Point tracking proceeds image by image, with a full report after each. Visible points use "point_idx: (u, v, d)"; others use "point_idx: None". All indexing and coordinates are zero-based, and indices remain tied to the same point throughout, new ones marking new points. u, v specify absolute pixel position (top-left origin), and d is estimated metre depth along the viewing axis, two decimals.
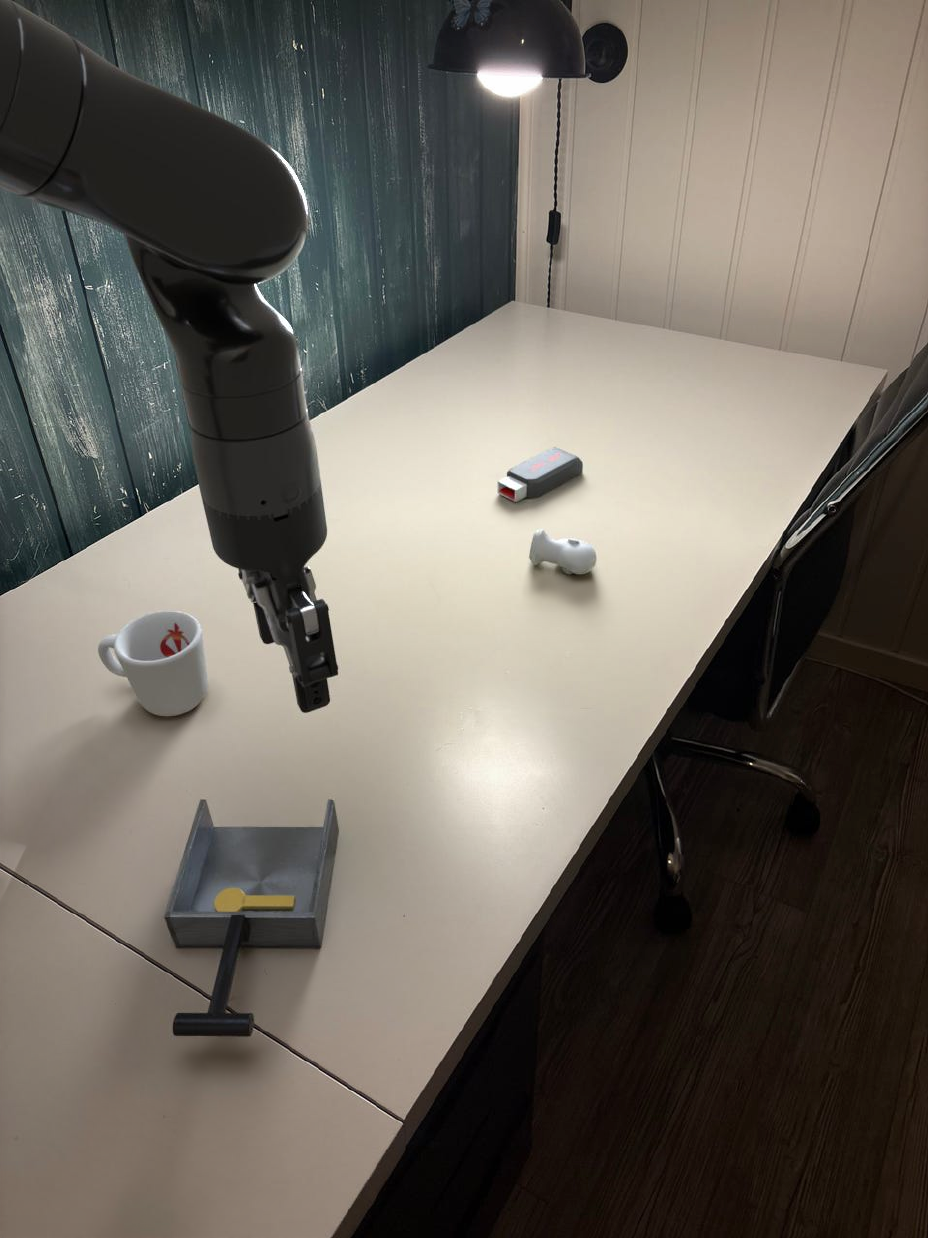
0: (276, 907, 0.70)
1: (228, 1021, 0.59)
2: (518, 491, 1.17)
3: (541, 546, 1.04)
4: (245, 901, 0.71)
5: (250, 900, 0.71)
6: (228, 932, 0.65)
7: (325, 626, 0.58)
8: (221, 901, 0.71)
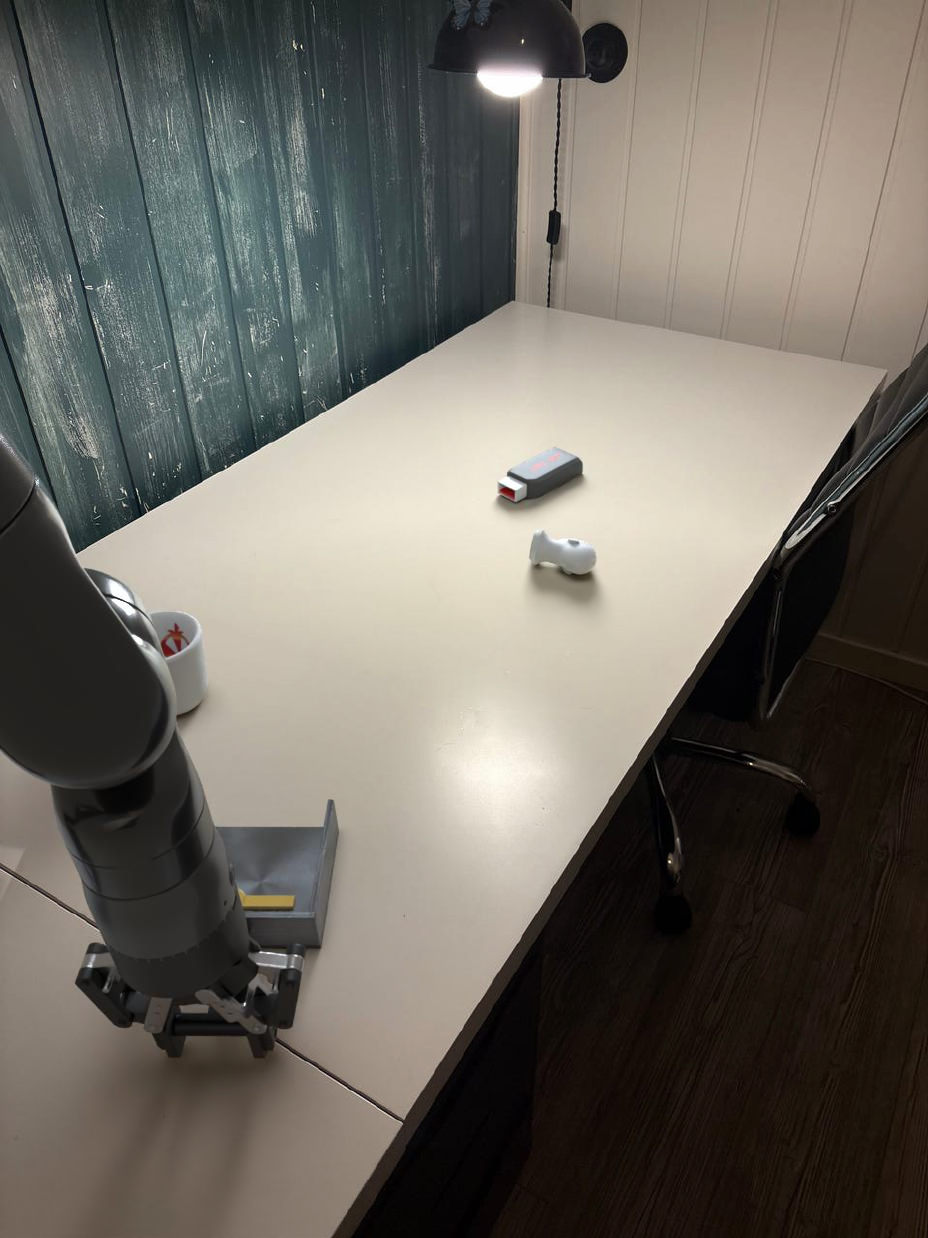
0: (276, 907, 0.70)
1: None
2: (518, 491, 1.17)
3: (541, 546, 1.04)
4: (245, 901, 0.71)
5: (250, 900, 0.71)
6: None
7: None
8: None
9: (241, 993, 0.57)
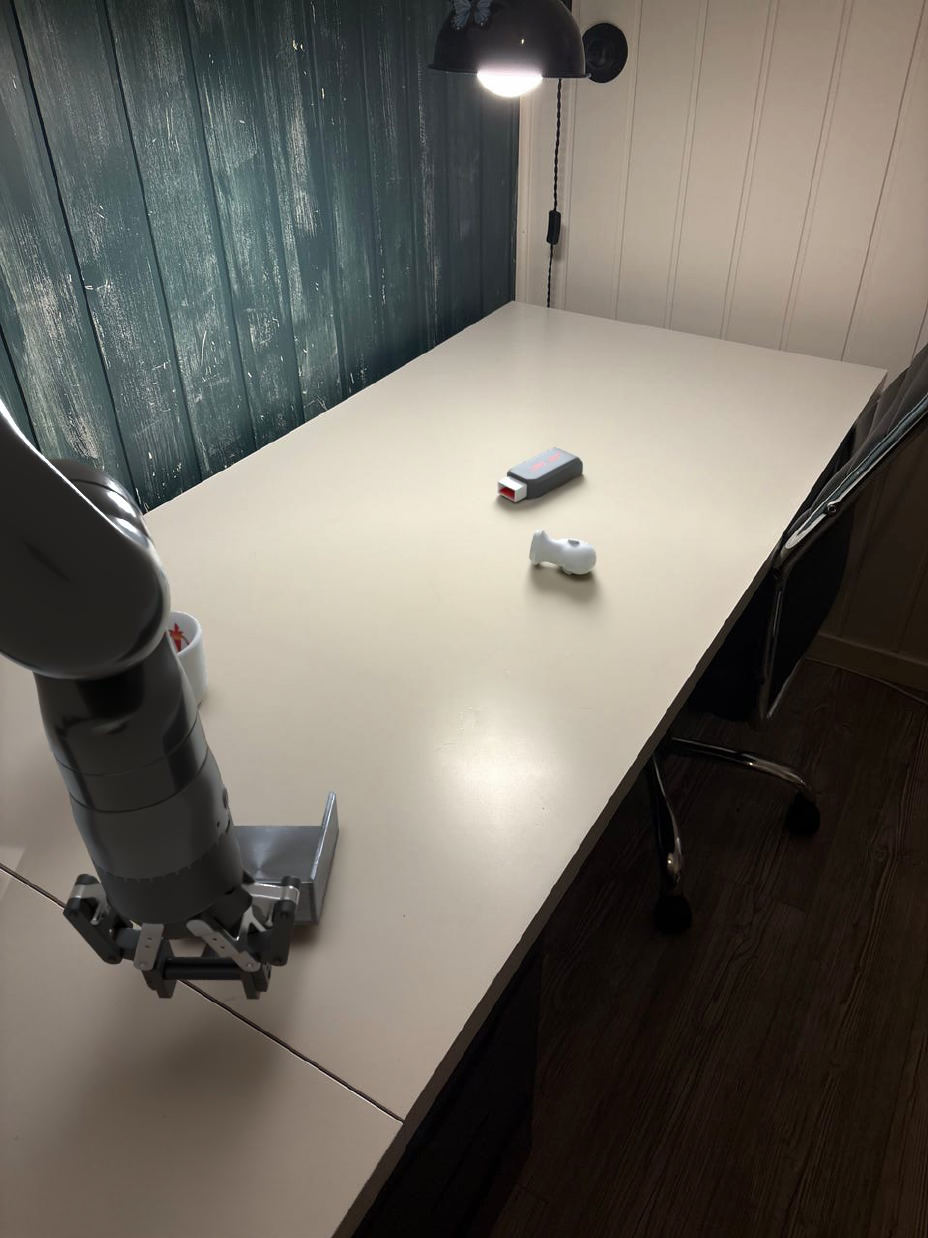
0: None
1: (221, 962, 0.58)
2: (518, 491, 1.17)
3: (541, 546, 1.04)
4: None
5: None
6: None
7: None
8: None
9: (234, 928, 0.56)
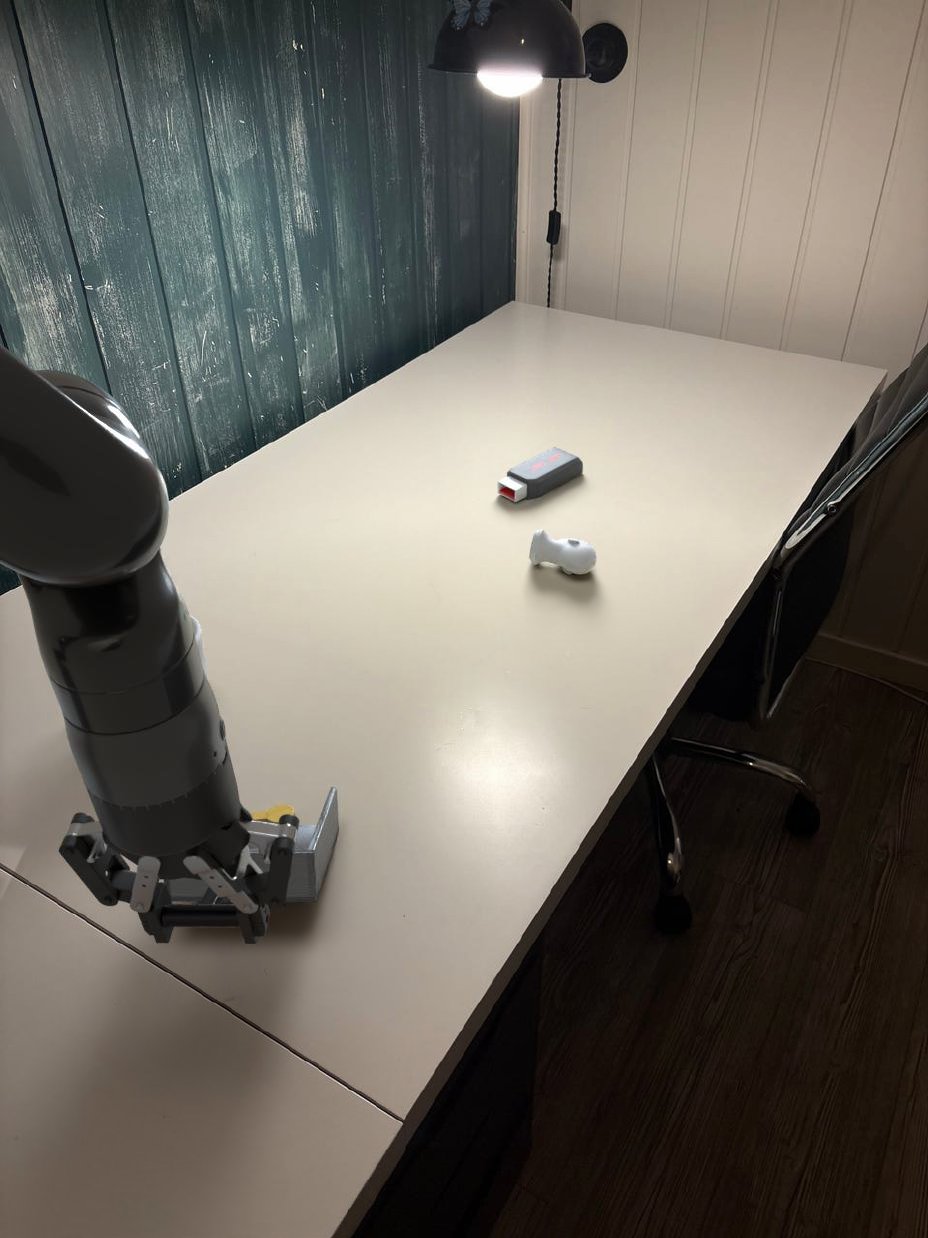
0: None
1: (219, 907, 0.58)
2: (518, 491, 1.17)
3: (541, 546, 1.04)
4: None
5: None
6: None
7: None
8: None
9: (232, 868, 0.55)
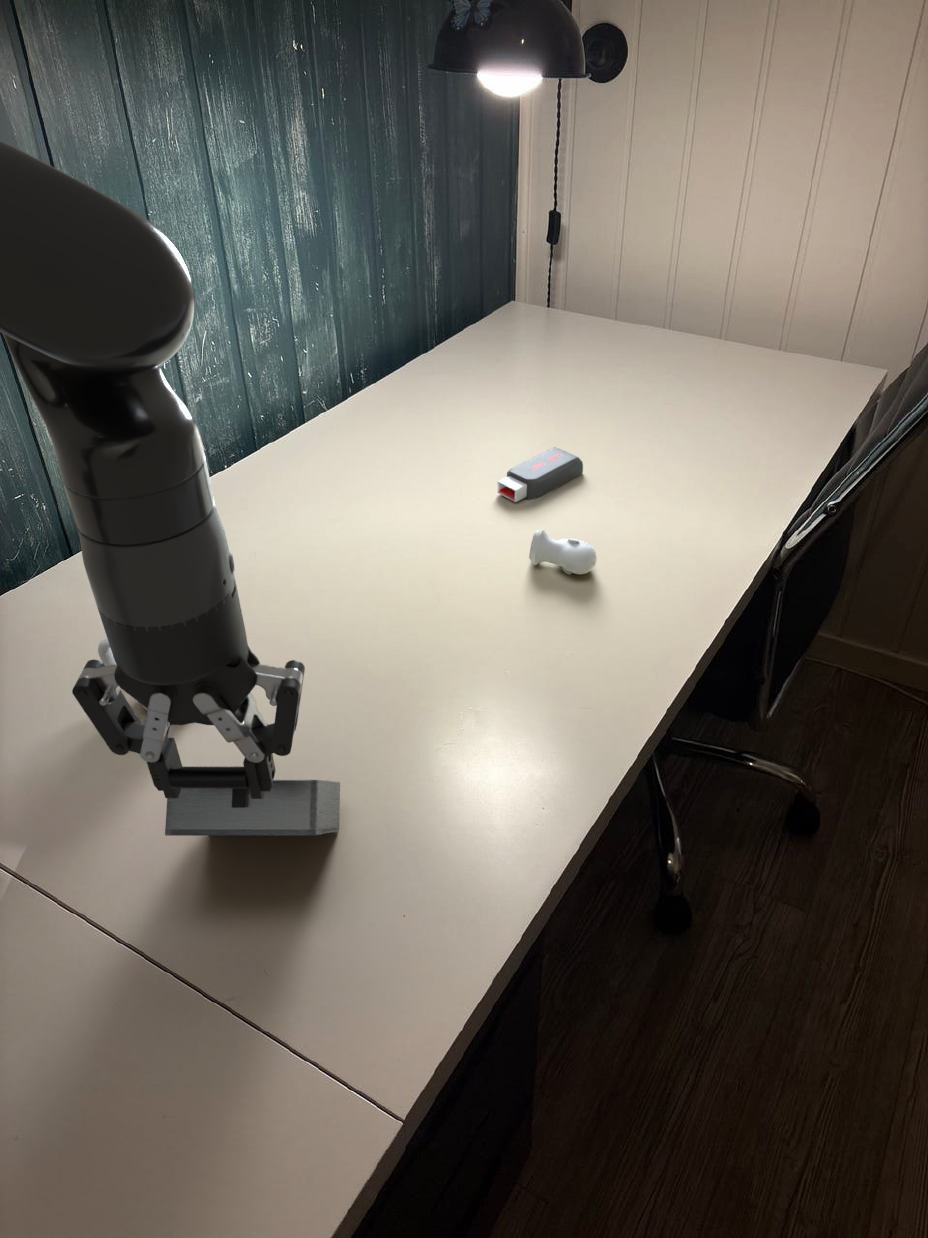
0: None
1: None
2: (518, 491, 1.17)
3: (541, 546, 1.04)
4: None
5: None
6: None
7: (302, 684, 0.57)
8: None
9: (239, 716, 0.57)
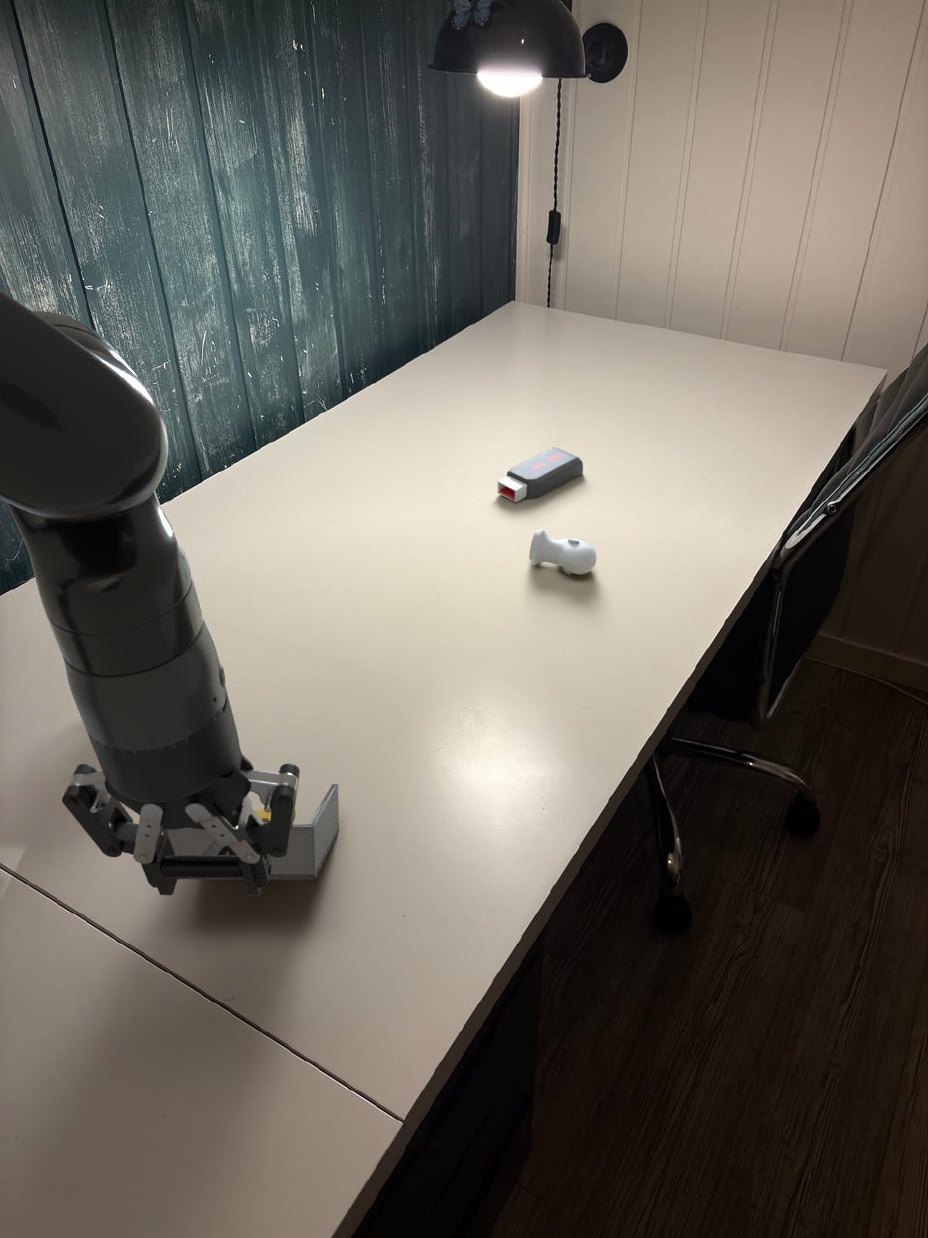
0: None
1: (220, 857, 0.58)
2: (518, 491, 1.17)
3: (541, 546, 1.04)
4: None
5: None
6: None
7: (297, 786, 0.55)
8: None
9: (233, 818, 0.56)
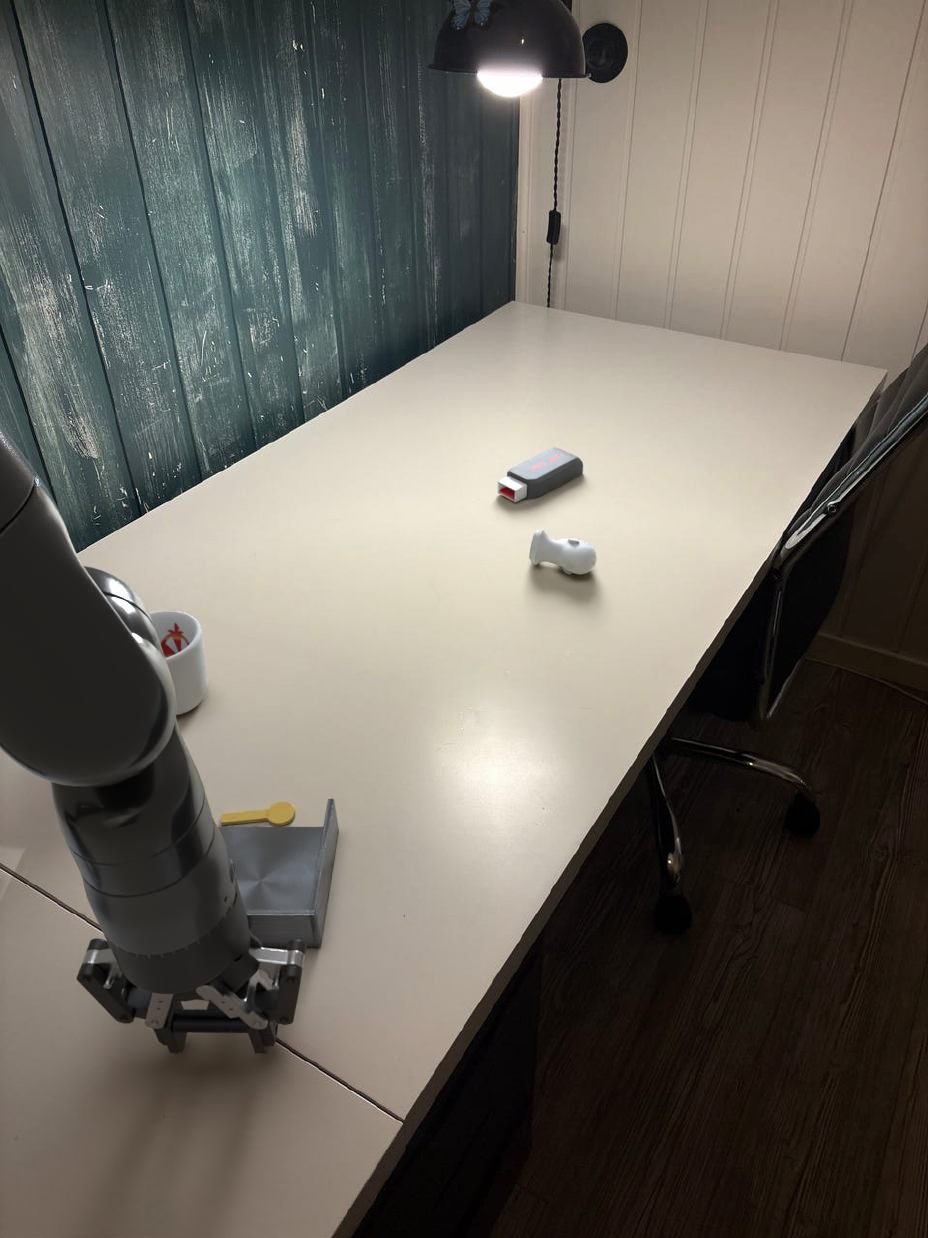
0: (236, 823, 0.78)
1: (227, 1017, 0.59)
2: (518, 491, 1.17)
3: (541, 546, 1.04)
4: None
5: None
6: None
7: None
8: None
9: (242, 989, 0.57)
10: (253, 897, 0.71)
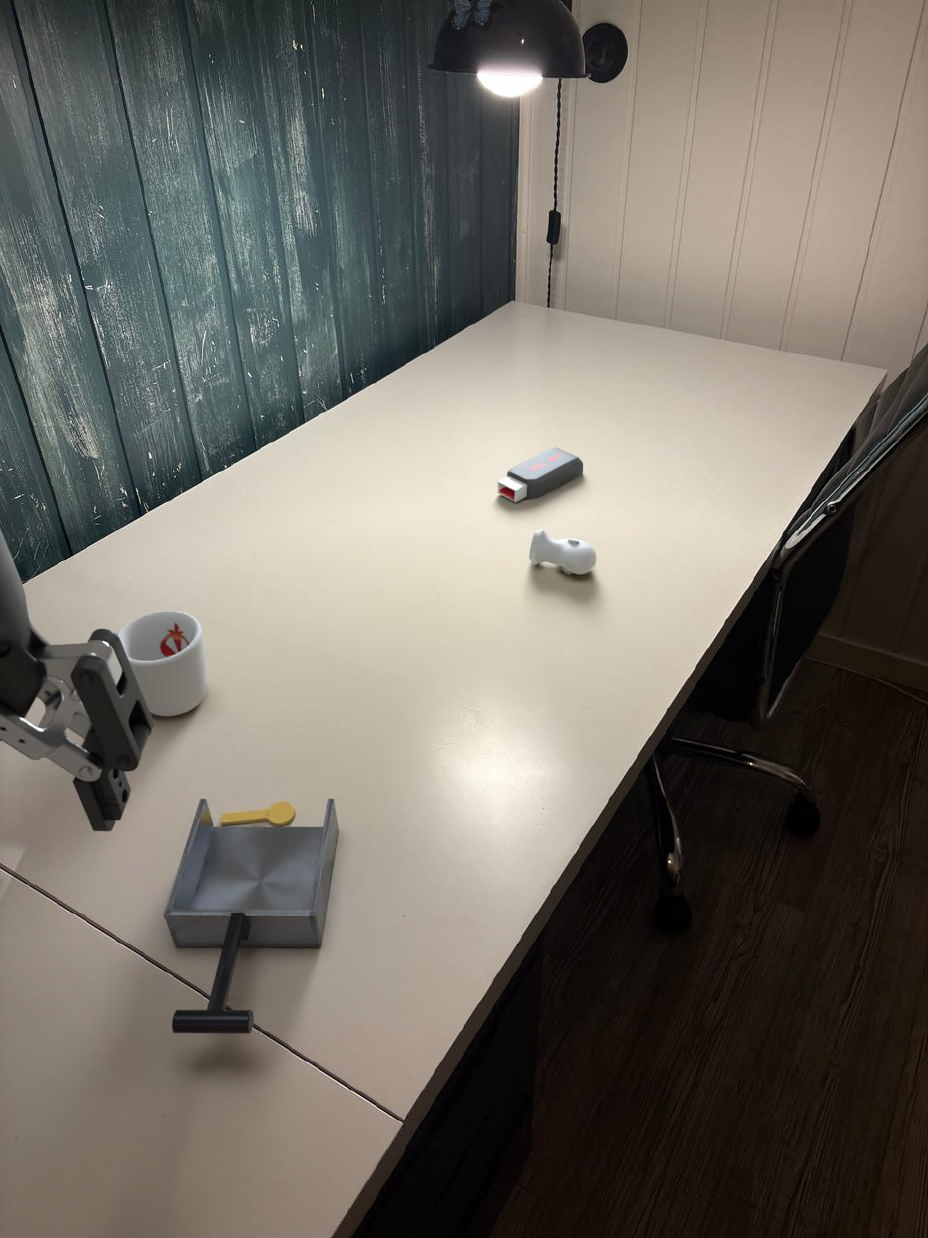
0: (236, 823, 0.78)
1: (227, 1018, 0.59)
2: (518, 491, 1.17)
3: (541, 546, 1.04)
4: None
5: None
6: (227, 930, 0.65)
7: (124, 662, 0.38)
8: None
9: (47, 719, 0.39)
10: (253, 897, 0.71)
